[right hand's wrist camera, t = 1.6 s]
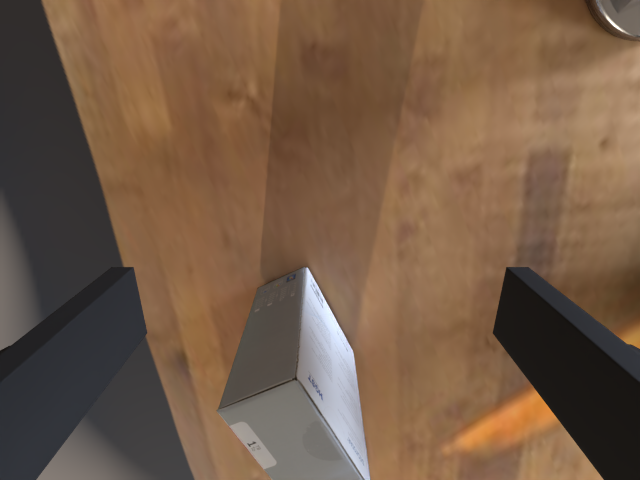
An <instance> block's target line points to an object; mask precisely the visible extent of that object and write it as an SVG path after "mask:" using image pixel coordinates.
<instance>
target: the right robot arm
mask: <svg viewBox="0 0 640 480" xmlns="http://www.w3.org/2000/svg"><path fill="white" fill-rule="evenodd" d="M586 3H587V6H588V8H589V10H590V12H591V14H592V16H593V17H594V19H595V20H596V21H597V23H598V24H599V25H600V26H601V27H602V28H603V29H605V30H606V31H607V32H609V33H610V34H612V35H614V36H616V37H619V38H622V39H625V40H631V41H640V0H586ZM146 334H147V330H146V325H145V320H144V315H143V310H142V306H141V301H140V296H139V291H138V287H137V282H136V277H135V272H134V267H111V268H110V269H109V270H108V271H106V272H105V273H104V274H102V275H101V276H100V277H99V278H97V279H96V280H95V281H93V282H92V283H91V284H90V285H88V286H87V287H86V288H84V289H83V290H82V291H81V292H79V293H78V294H77V295H75V296H74V297H73V298H72V299H70V300H69V301H68V302H66V303H65V304H64V305H63V306H61V307H60V308H59V309H58V310H56V311H55V312H54V313H52V314H51V315H50V316H49V317H47V318H46V319H45V320H43V321H42V322H41V323H40V324H38V325H37V326H36V327H34V328H33V329H32V330H31V331H29V332H28V333H27V334H25V335H24V336H23V337H22V338H20V339H19V340H18V341H16V342H15V343H14V344H13V345H11V346H8V347H6V348H4V349H2V350H1V351H0V480H36V479H37V478H38V476H39V475H40V474H41V473H42V471H43V470H44V469H45V467H46V466H47V465H48V463H49V462H50V461H51V459H52V458H53V457H54V455H55V454H56V453H57V451H58V450H59V449H60V447H61V446H62V445H63V444H64V442H65V441H66V440H67V438H68V437H69V436H70V434H71V433H72V432H73V430H74V429H75V428H76V426H77V425H78V424H79V422H80V421H81V420H82V418H83V417H84V416H85V414H86V413H87V412H88V411H89V409H90V408H91V406H92V405H93V404H94V402H95V401H96V400H97V399H98V397H99V396H100V395H101V393H102V392H103V391H104V389H105V388H106V387H107V385H108V384H109V383H110V381H111V380H112V379H113V378H114V376H115V375H116V374H117V372H118V371H119V370H120V368H121V367H122V366H123V364H124V363H125V362H126V360H127V359H128V358H129V356H130V355H131V354H132V352H133V351H134V350H135V349H136V347H137V346H138V345H139V343H140V342H141V341H142V339H143V338H144V337H145V335H146ZM493 334H494V335H495V337H496V338H497V339H498V341H499V342H500V343H501V345H502V346H503V347H504V349H505V350H506V351H507V352H508V354H509V355H510V356H511V358H512V359H513V360H514V362H515V363H516V364H517V366H518V367H519V368H520V370H521V371H522V372H523V374H524V375H525V376H526V378H527V379H528V380H529V382H530V383H531V384H532V385H533V387H534V388H535V389H536V391H537V392H538V393H539V395H540V396H541V397H542V399H543V400H544V401H545V403H546V404H547V405H548V407H549V408H550V409H551V411H552V412H553V413H554V414H555V416H556V417H557V418H558V420H559V421H560V422H561V424H562V425H563V426H564V428H565V429H566V430H567V432H568V433H569V434H570V436H571V437H572V438H573V440H574V441H575V442H576V444H577V445H578V446H579V447H580V449H581V450H582V451H583V453H584V454H585V455H586V457H587V458H588V459H589V461H590V462H591V463H592V465H593V466H594V467H595V469H596V470H597V471H598V473H599V474H600V475H601V477H602V478H603V479H604V480H640V349H639V348H637V347H635V346H633V345H627V344H626V343H625V342H624V341H622V340H621V339H620V338H618V337H617V336H616V335H615V334H613V333H612V332H611V331H609V330H608V329H607V328H606V327H604V326H603V325H602V324H600V323H599V322H598V321H597V320H595V319H594V318H593V317H591V316H590V315H589V314H588V313H586V312H585V311H584V310H583V309H581V308H580V307H579V306H577V305H576V304H575V303H574V302H572V301H571V300H570V299H568V298H567V297H566V296H565V295H563V294H562V293H561V292H559V291H558V290H557V289H556V288H554V287H553V286H552V285H550V284H549V283H548V282H547V281H545V280H544V279H543V278H541V277H540V276H539V275H538V274H536V273H535V272H534V271H532V270H531V269H530V268H529V267H506V272H505V277H504V282H503V287H502V291H501V296H500V301H499V306H498V310H497V315H496V320H495V325H494V330H493Z"/></svg>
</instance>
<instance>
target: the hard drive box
mask: <svg viewBox="0 0 640 480" xmlns="http://www.w3.org/2000/svg"><path fill="white" fill-rule="evenodd" d="M217 412H218V413H219V415H220V416H221V417H222V418H223V419H224V421H225V422H226V423H227V424H228V426H229V427H230V429H231V430H232V431H233V432H234V434H235V435H236V436H237V437H238V439H239V440H240V441H241V442H242V443H243V445H244V446H245V447H246V448H247V450H248V451H249V452H250V453H251V455H252V456H253V457H254V458H255V460H256V461H257V462H258V463H259V464H260V466H261V467H262V468H263V469H264V470H265V472H266V473H267V474H268V475H269V476H270V478H271V479H272V480H371V479H370V472H369V465H368V457H367V449H366V442H365V434H364V427H363V419H362V412H361V404H360V397H359V389H358V382H357V374H356V367H355V360H354V353H353V350H352V349H351V347H350V345H349V343H348V341H347V339H346V337H345V336H344V334H343V332H342V330H341V328H340V327H339V325H338V323H337V321H336V319H335V317H334V315H333V313H332V312H331V310H330V308H329V306H328V304H327V302H326V300H325V299H324V297H323V295H322V293H321V291H320V289H319V287H318V285H317V284H316V282H315V280H314V278H313V276H312V275H311V273H310V271H309V269H308V268H305V267H303V268H301V269H298V270H296V271H294V272H292V273H289V274H287V275H285V276H283V277H281V278H279V279H276V280H274V281H272V282H270V283H268V284H265V285H263V286H261V287H259V288H258V289H257V292H256V295H255V298H254V301H253V304H252V307H251V311H250V313H249V317H248V319H247V323H246V326H245V329H244V332H243V335H242V338H241V341H240V344H239V347H238V350H237V353H236V356H235V359H234V362H233V366H232V369H231V372H230V375H229V378H228V381H227V384H226V387H225V390H224V393H223V396H222V399H221V402H220V405H219V408H218V410H217Z"/></svg>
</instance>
